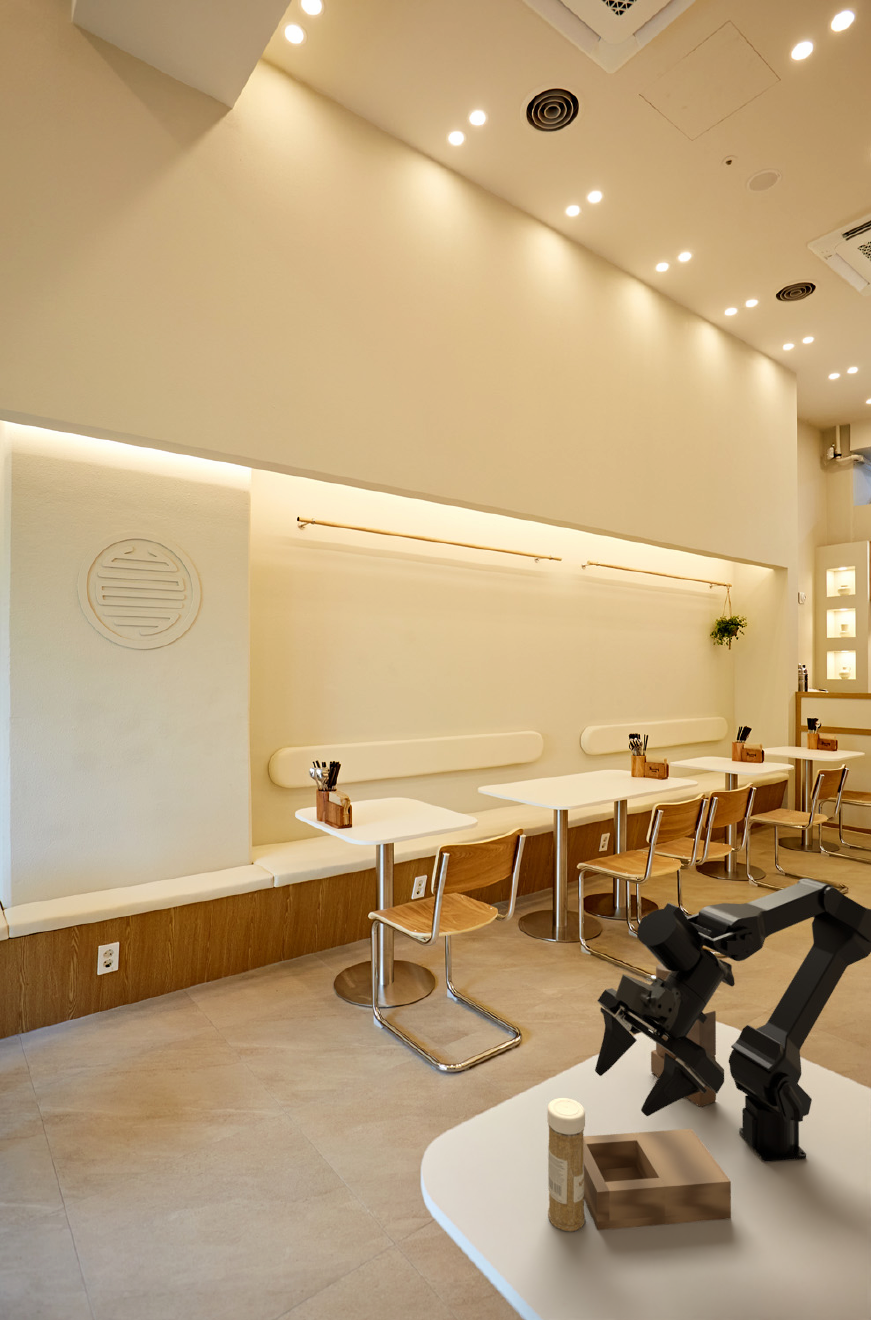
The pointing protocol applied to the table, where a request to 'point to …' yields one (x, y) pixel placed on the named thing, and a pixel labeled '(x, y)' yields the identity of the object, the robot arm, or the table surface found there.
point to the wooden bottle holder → (652, 1180)
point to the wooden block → (699, 1035)
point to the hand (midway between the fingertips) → (619, 1092)
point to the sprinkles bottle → (566, 1164)
